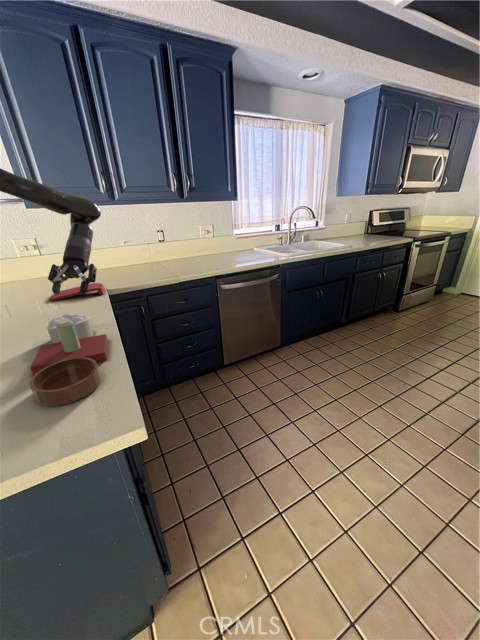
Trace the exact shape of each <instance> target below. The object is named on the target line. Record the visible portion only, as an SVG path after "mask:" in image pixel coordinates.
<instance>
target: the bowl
mask: <svg viewBox="0 0 480 640" xmlns="http://www.w3.org/2000/svg"><path fill="white" fill-rule="evenodd" d="M101 381H102V375H101V372H100V369H99V364H98V362H96V361H95V360H93V359H91V358H85V357H77V358H70V359H65V360H61V361H58V362H55V363H53V364H51V365H49V366H47V367H45V368H43V369H42V370H40V371H39V372H37V373H36V374H35V375H33V376H32V377H31V379H30V381H29V389H30V390H31V393H32V396H33V398H34V400H35V402H36V403H38V404H39V405H41V406H45V407H60V406H64V405H69V404H72V403H74V402H77V401H79V400H81V399H83V398H85V397H87V396H88V395H90V394H91V393H92V392H93V391H95V390H96V389H97V388H98V387H99V385H100V384H101Z"/></svg>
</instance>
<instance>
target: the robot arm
mask: <svg viewBox="0 0 480 640" xmlns="http://www.w3.org/2000/svg"><path fill="white" fill-rule="evenodd" d="M0 192H1V193H4V194H7V195H10V196H12V197H16V198H18V199H20V200H22V201H26V202H28V203H31V204H33V205H36V206H38V207H40V208H43V209H46V210H48V211H50V212H54V213H55V214H59V215H63V216H66V215H69V214H70V215H69V221H70V224H69V225H70V230H69V234H68V238H67V240H66V243H65V247H64V252H63V255H62V264H61V265H56V264H55V263H53V264H52V265H51V267H50V270H49V272H48V276H47V280H48V281H49V282H51V283H52V288H51V291H52V293H53V294H54V293H55V294H56V295H59V292H60V291H61V288H62V284H63V283H65V282H67V280H69V279H81V280H82V281H80V285H79V286H80V293H82V294H81V295H85V294H86V292H87V289H88V284H92V283H96V281H97V279H96V278H97V271H98V268H97V267H96V265H94V263H90V257H91V253H92V243H93V238H94V230H93V228H92V227H91V224H93V223H95V222H96V221H97V220H99V219H100V218H101V215H102V212H101V211H102V210H101V208H100V207H99V206H98V205H97V203H95V202H93V200H90V199H89V198H85V197H81V196H76V195H71V194H67V193H64V192H62V191H60V190H58V189H55V188H53V187H51V186H49V185H46V184H43V183H40V182H37V181H35V180H31V179H30V178H29V179H28V178H26V177H23V176H20V175H17V174H15V173H12V172H9V171H8V170H5V169H3V168H1V167H0ZM86 272H88V274H87V276H86ZM87 293H88V292H87Z"/></svg>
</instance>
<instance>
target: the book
mask: <svg viewBox="0 0 480 640" xmlns="http://www.w3.org/2000/svg"><path fill="white" fill-rule="evenodd" d="M78 340H79V343H80V346H81V347H80V348H79V349H78V350H76V351H73V352H64V350H63V347H62V344H61V342H58V343H52V342H51V343H46V344H42V345H40V347H39V349H38V351H37V353H36V354H35V357H34V359H33V361H32V362H31V364H30V367H29V368H30V370H31V373H32V375H33V376H34V375H35V374H36V373H37V372H39V371H40V370H42V369H43V368H45V367H47V366H49V365H51V364H53V363H55V362H58V361H61V360H65V359H70V358H77V357H85V358H91V359H93V360H95V361H96V363H100V362H105V361H108V348H109V339H108V335H107V333H105V334H99V335H92V336H91V337H86V338H81V339H78Z"/></svg>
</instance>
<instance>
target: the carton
mask: <svg viewBox="0 0 480 640" xmlns="http://www.w3.org/2000/svg"><path fill="white" fill-rule="evenodd" d="M80 286H81V285H79V286H75V287H71V288H66V289H63V290H60V292H59V295H56V294H55V293H53V294H52V295H50V296H49V299H50V301H52V302H54V301H58V300H62V299H63V300H64V299H67V298H71V297H75V296H78V295H83V294H82V293H80ZM96 291H97V292H98V295H99V296H101V295H104V294H105V291H106V288H105V285H104V284H103V283H101V282H94V283H93V282H91V283H89V284H88V289H87V292H86V293H91V292H96ZM86 293H85V294H86Z"/></svg>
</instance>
